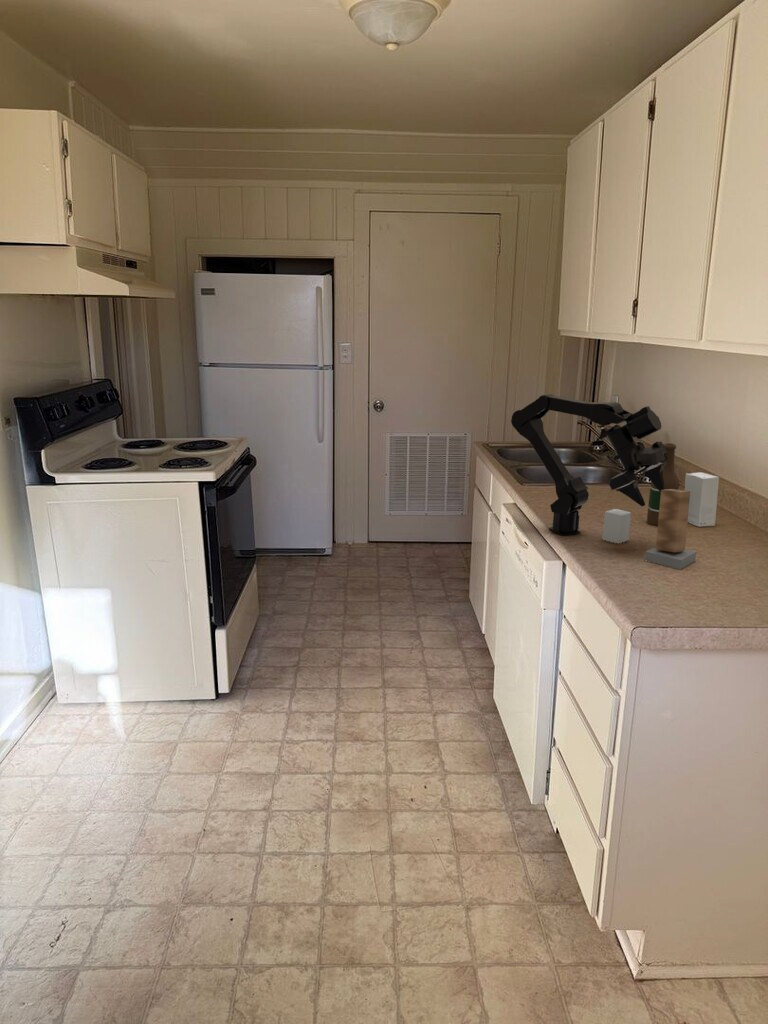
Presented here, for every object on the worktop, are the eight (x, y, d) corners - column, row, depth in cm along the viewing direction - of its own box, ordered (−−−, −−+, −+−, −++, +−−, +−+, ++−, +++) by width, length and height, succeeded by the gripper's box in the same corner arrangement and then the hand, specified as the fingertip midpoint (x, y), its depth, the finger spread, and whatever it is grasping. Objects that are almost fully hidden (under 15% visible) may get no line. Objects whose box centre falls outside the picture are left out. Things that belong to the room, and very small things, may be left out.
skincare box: (715, 526, 208) (721, 477, 204) (696, 527, 207) (703, 478, 203) (697, 518, 216) (703, 471, 212) (679, 519, 215) (685, 471, 211)
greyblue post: (618, 544, 191) (621, 515, 189) (602, 539, 195) (604, 511, 193) (628, 540, 194) (631, 512, 192) (612, 536, 198) (615, 508, 196)
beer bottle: (640, 521, 212) (649, 442, 206) (661, 519, 215) (670, 441, 209) (659, 528, 205) (668, 447, 199) (680, 525, 208) (690, 445, 202)
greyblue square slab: (644, 562, 178) (645, 551, 177) (660, 554, 184) (661, 543, 184) (679, 571, 172) (681, 560, 171) (694, 563, 178) (696, 551, 177)
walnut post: (655, 549, 178) (661, 489, 175) (665, 547, 181) (671, 488, 179) (674, 552, 174) (680, 492, 172) (684, 550, 177) (690, 491, 175)
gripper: (627, 448, 173) (657, 504, 173) (669, 423, 183) (698, 476, 183) (595, 462, 183) (624, 516, 182) (637, 438, 193) (664, 489, 192)
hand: (653, 499), depth 185 cm, fingers open, 9 cm apart
